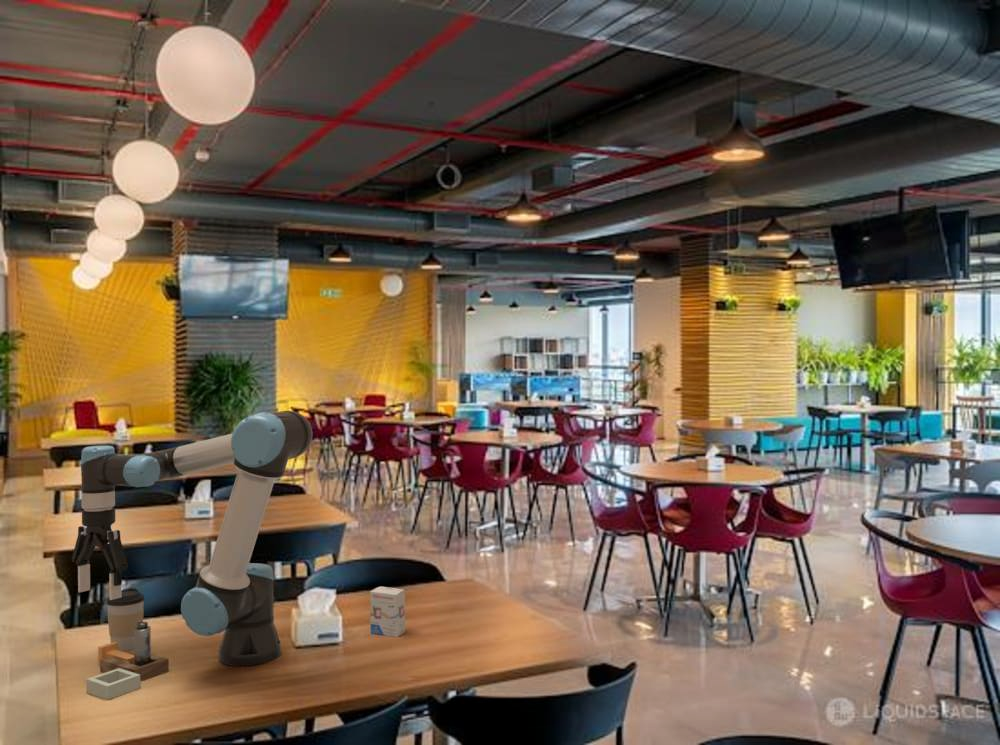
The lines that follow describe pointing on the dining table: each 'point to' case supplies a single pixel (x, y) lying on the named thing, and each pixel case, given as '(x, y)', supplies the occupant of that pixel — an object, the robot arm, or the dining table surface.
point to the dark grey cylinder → (142, 644)
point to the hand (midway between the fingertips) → (99, 594)
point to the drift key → (114, 653)
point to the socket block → (145, 671)
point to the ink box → (387, 611)
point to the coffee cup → (125, 617)
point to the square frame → (113, 683)
